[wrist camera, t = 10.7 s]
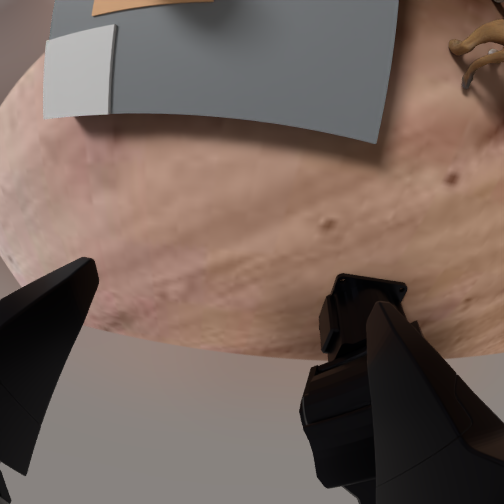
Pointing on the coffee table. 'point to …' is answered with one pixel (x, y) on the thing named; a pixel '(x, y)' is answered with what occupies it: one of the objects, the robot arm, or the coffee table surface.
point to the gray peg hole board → (224, 60)
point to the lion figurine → (489, 32)
